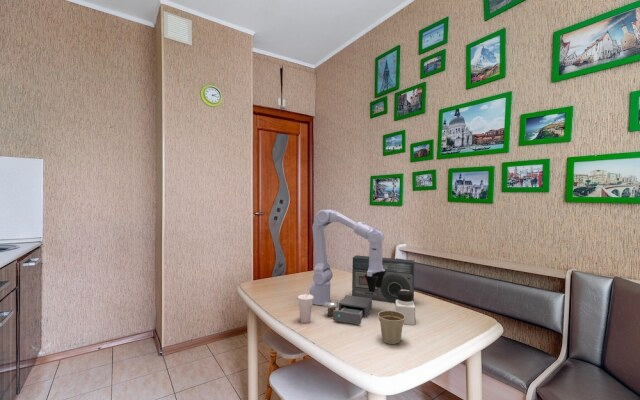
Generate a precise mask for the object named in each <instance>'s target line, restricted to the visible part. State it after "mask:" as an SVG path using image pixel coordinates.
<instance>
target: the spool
mask: <svg viewBox="0 0 640 400" xmlns="http://www.w3.org/2000/svg"><path fill="white" fill-rule="evenodd" d="M333 310H337V308H335V309H330V308H327V317H329V318H333Z"/></svg>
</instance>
